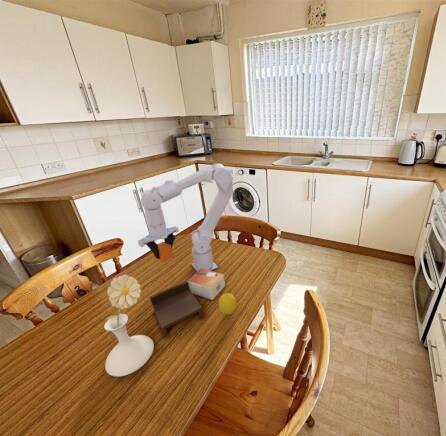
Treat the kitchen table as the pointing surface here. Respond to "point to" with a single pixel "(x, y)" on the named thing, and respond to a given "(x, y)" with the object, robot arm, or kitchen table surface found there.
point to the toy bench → (175, 305)
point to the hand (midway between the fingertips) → (163, 254)
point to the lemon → (227, 304)
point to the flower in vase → (128, 346)
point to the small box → (206, 283)
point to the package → (164, 252)
